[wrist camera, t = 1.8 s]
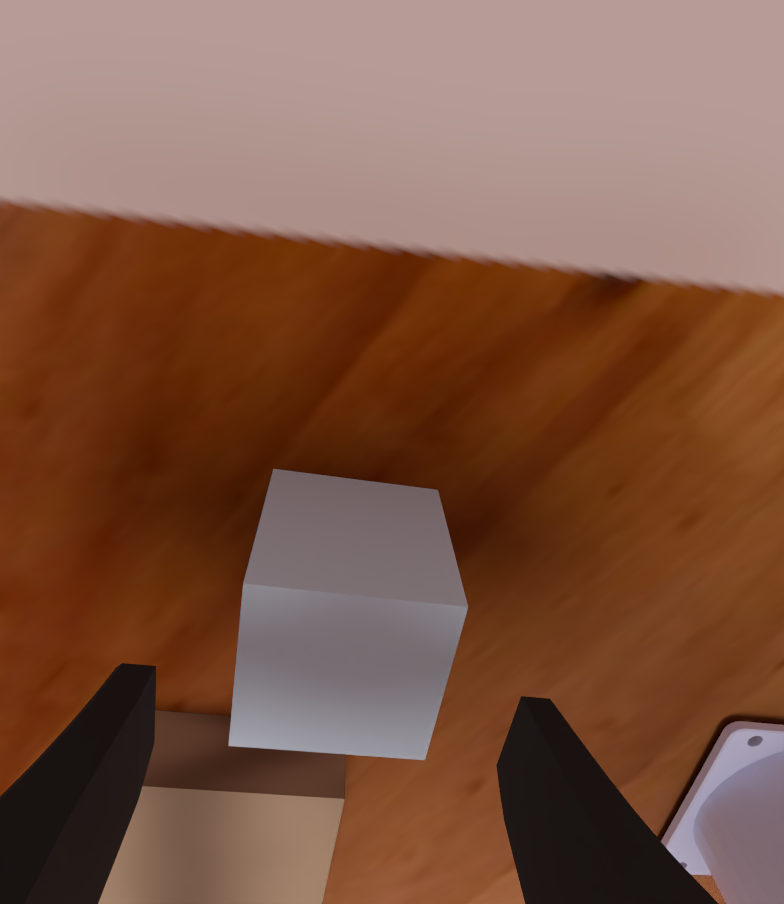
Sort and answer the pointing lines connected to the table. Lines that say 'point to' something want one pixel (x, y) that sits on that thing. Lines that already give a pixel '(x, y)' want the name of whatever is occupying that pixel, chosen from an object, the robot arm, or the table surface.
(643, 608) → the table surface
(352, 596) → the light grey block
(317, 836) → the tan square block
